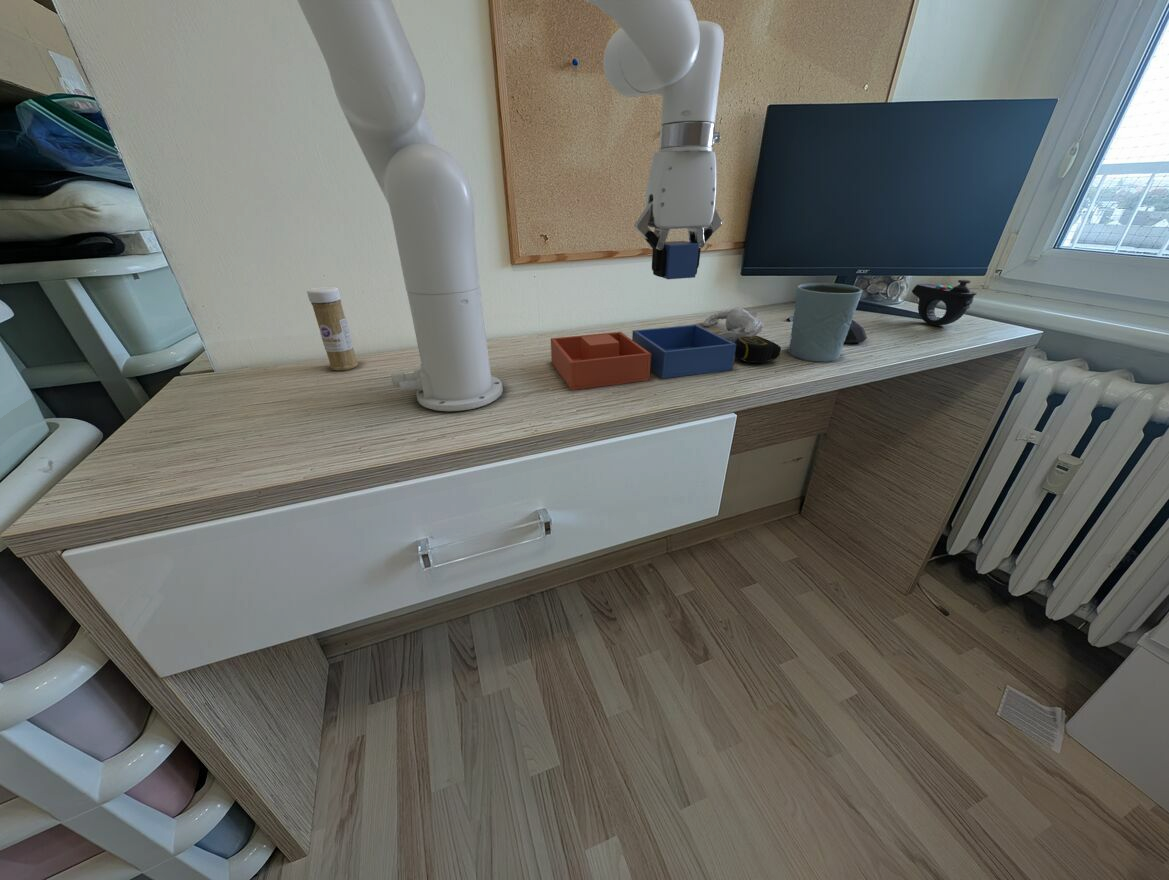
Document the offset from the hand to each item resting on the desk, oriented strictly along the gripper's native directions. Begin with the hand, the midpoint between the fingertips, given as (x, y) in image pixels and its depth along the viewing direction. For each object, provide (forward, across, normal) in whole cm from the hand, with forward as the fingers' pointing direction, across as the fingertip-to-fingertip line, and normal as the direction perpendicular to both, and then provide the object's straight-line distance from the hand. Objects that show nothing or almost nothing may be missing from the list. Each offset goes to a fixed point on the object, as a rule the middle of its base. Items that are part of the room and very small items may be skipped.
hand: (674, 273), depth 71 cm
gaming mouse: (+15, -40, -4) cm, 43 cm away
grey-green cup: (+15, -27, +5) cm, 32 cm away
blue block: (0, 0, 0) cm, 0 cm away
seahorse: (+15, -20, -11) cm, 28 cm away
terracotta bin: (+15, +14, +1) cm, 20 cm away
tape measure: (+15, -15, +4) cm, 22 cm away
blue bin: (+15, -2, +1) cm, 15 cm away
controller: (+16, -68, -4) cm, 70 cm away
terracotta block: (+14, +13, +1) cm, 20 cm away
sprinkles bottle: (+15, +56, -15) cm, 59 cm away
